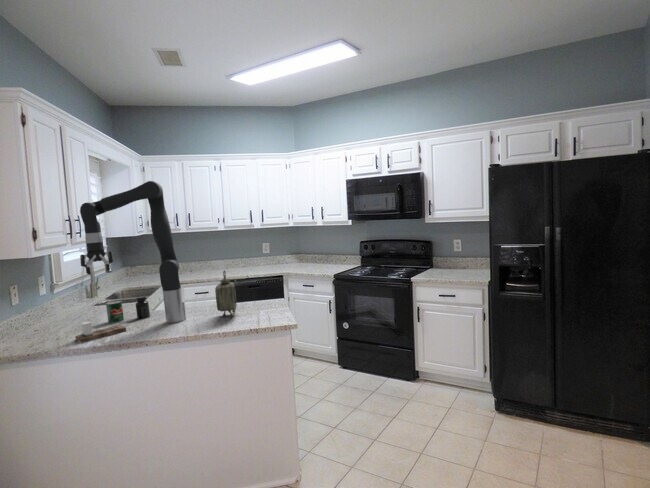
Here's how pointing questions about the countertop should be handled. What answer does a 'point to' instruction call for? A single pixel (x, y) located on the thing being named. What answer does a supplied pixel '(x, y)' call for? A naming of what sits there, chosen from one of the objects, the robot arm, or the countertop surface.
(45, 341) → the countertop surface
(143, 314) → the supplement bottle
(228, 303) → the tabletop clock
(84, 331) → the fader
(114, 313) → the canned tomato
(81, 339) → the board
